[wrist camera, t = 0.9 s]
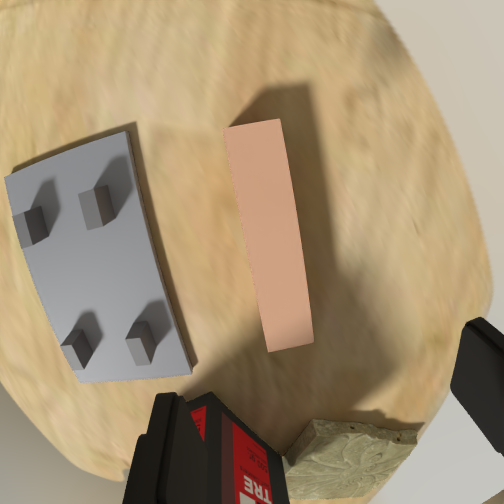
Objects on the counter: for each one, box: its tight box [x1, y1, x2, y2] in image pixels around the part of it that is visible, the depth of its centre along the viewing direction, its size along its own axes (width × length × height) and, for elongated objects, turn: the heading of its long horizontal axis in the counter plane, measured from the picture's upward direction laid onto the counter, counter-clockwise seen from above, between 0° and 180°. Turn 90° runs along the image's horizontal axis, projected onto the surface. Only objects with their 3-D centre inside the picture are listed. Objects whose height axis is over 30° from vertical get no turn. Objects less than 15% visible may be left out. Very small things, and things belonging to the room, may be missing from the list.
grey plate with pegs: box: [4, 131, 193, 383], centre depth 26 cm, size 24×14×4 cm, turn 10°
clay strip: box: [222, 119, 314, 352], centre depth 26 cm, size 18×4×5 cm, turn 11°
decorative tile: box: [282, 419, 417, 499], centre depth 38 cm, size 19×20×4 cm
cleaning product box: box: [186, 392, 290, 504], centre depth 26 cm, size 16×9×20 cm, turn 32°
